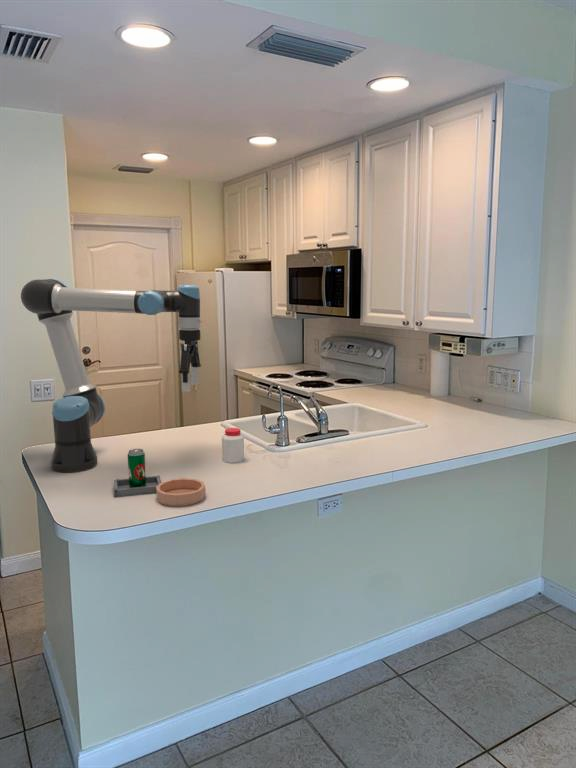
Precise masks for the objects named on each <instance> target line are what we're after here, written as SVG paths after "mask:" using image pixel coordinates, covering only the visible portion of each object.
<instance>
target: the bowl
mask: <svg viewBox="0 0 576 768" xmlns="http://www.w3.org/2000/svg"><path fill="white" fill-rule="evenodd" d="M206 491H207V490H206V485H205V482H204V481H202V480H200V479H196V478H188V477H187V478H186V477H183V478H174V479H169V480H166V481H161V483H160V484H159V485H158V486H156V493H155V496H156V501H157V502H158V503H160V504H161V505H164V506H168V507H169V506H170V507H185V506H186V507H187V506H191V505H195V504H198V503H200V502H201V501H203V500H204V499H205V498H206V494H207V493H206Z"/></svg>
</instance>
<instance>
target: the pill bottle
mask: <svg viewBox="0 0 576 768" xmlns="http://www.w3.org/2000/svg"><path fill="white" fill-rule="evenodd" d="M221 453H222V454H221V458H222V459H221V460H222V462H224V463H227V462H229V464H236V462H238V463H241V462H243V461H245V436H244V435H243V434H242V433H241V429H240V428H238V427H229V428H225V429H224V434H223V435H222V436H221Z"/></svg>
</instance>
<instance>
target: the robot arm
mask: <svg viewBox="0 0 576 768" xmlns="http://www.w3.org/2000/svg"><path fill="white" fill-rule="evenodd" d="M20 300H21V303H22V305H23V307H24V308H25V309H26V310H27V311H29V312H30V313H32V314H36V315H37V318H38V319H37V320H38V322H40V323H42V324H44V326H45V328H46V333H47V335H48V338H49V341H50V344H51V345H50V346H51V348H52V350H53V355H54V357H55V361H56V363H57V367H58V369H59V373H60V376H61V379H62V382H63V385H64V389H65V390H64V391H63V393H62V397H61V398H59V399H57V400H55V401H54V402H53V404H52V412H51V414H52V420H53V421H52V422H53V432H54V433H53V434H54V448H53V453H52V458H51V461H50V465H51V470H53V471H55V472H59V473H74V472H82V471H87V470H90V469H93V468H95V467H96V466H97V465H98V463H99V462H98V456H97V453H96V451H95V449H94V446H93V444H92V437H91V427H93V426H95V425H96V424H97V423H98V422H100V420H101V419H102V418H103V416H104V414H105V411H106V403H105V400H104V398H103V397H102V396H101V395H99V394H98V391H97V388H96V386H95V385H94V384H92V383H90V380H89V377H88V373H87V371H86V367H85V364H84V360H83V358H82V355H81V351H80V347H79V343H78V341H77V337H76V334H75V331H74V328H73V324H72V321H71V318H72V316H73V315H74V313H73V312H75V311H76V312H97V313H100V312H101V313H119V314H120V313H121V314H122V313H123V314H140V315H141V314H143V315H147V316H155V315H157V314H161V313H178V329H179V330H178V340H179V341H181V342H183V341H184V344H181V356H180V367H179V370H178V373H179V374H181V392H182V393H183V392H188V393H190V392H191V385H193V386H194V385H195V386H200V385H199V384H200V382H199V381H200V378H199V377H200V375H199V370H200V369H199V368H200V367H201V366H202V364H201V361H200V353H199V344H198V342H199V341H201V330H200V329H201V323H202V319H201V296H200V287H199V286H198V285H195V284H187V285H186V284H179V285H178V287H177V290H156V289H153V290H152V289H151V290H130V289H128V290H127V289H109V288H107V289H106V288H90V287H89V288H87V287H69V286H68V285H66V283H64V282H62V281H60V280H57V279H54V278H49V279H46V278H45V279H32V280H30V281H28V282H26V284H25V285H24V286H22V289H21V291H20Z"/></svg>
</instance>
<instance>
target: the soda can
mask: <svg viewBox="0 0 576 768" xmlns="http://www.w3.org/2000/svg"><path fill="white" fill-rule="evenodd" d="M127 467H128V469H127V471H128V478H129V487H130V488H134V487H144V486H146V477H147V475H146V472H147V471H146V454H145V451H144V449H143V448H131V449H129V450H128V453H127Z"/></svg>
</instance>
